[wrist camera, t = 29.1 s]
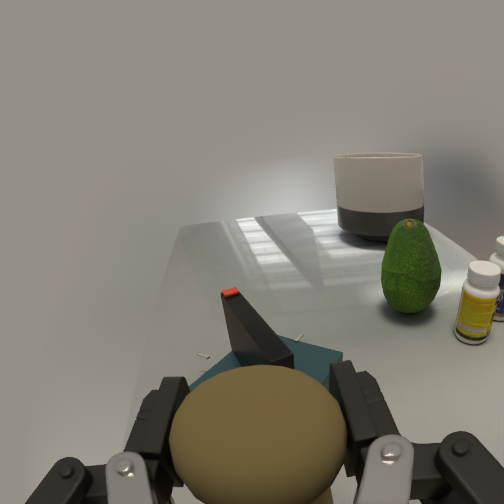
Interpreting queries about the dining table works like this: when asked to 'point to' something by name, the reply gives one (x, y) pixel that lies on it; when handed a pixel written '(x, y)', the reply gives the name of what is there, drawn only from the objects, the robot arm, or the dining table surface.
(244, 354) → the red-tipped black panel
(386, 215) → the planter
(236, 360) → the teal base plate
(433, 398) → the dining table surface
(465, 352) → the dining table surface
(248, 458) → the cork
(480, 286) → the supplement bottle
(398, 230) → the avocado
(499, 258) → the pill bottle
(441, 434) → the dining table surface
